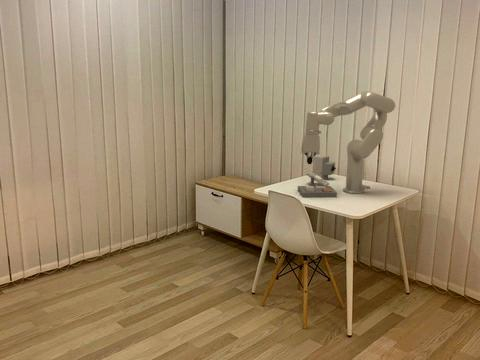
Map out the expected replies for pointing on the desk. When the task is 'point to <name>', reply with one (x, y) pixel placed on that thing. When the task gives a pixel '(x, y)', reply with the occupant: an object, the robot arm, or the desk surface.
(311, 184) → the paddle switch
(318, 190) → the dark grey tray
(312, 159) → the robot arm
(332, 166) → the circuit breaker
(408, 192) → the desk surface
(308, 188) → the grey button
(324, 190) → the copper button
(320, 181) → the pale slanted lever
